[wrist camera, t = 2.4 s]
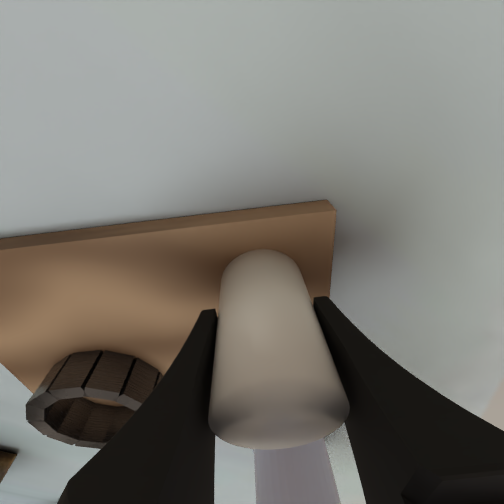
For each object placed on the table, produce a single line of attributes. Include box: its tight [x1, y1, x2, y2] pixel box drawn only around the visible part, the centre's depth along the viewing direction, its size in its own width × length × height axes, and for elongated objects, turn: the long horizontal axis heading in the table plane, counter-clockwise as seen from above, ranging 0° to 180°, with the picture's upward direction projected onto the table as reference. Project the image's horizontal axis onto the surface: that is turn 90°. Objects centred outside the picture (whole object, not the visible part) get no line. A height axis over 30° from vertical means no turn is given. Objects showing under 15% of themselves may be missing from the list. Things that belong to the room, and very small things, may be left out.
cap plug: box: [208, 249, 350, 450], centre depth 11 cm, size 5×5×7 cm
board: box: [0, 200, 336, 407], centre depth 17 cm, size 18×22×2 cm
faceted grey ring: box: [26, 350, 163, 449], centre depth 17 cm, size 8×8×2 cm
